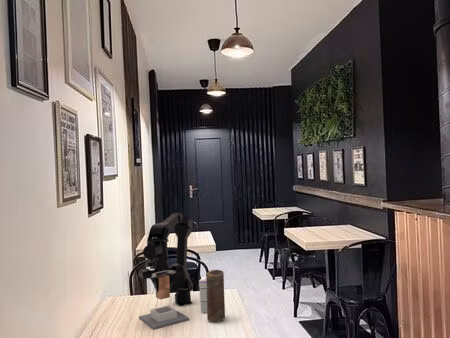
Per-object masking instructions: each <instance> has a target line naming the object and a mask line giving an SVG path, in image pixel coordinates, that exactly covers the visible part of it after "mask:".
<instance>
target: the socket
mask: <svg viewBox="0 0 450 338" xmlns="http://www.w3.org/2000/svg"><path fill="white" fill-rule="evenodd" d="M149 311H150V313H147V314H146V313H145V314H143V315H139V316H138V318H139V320H140V321H142V322H143V323H144V324H146V326H148V327H149V328H151V330H158V329H162V328H165V327H169V326H173V325H177V324H182V323H185V322H188V321H190V317H188V316H187V315H185V314H184V313H182V312H180V311H179V310H177V309H176V308H173V307H172V306H171V305H169V304H168V305H164V306H161V307H156V308H151V309H150V310H149Z"/></svg>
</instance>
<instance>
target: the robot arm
mask: <svg viewBox="0 0 450 338" xmlns="http://www.w3.org/2000/svg"><path fill="white" fill-rule="evenodd" d="M172 229H173V232H174V234H175V237H177V242H176V263H172V264H170V266H169V260H170V256H169V255H168V243H169V242H170V241H169V236H170V234H171V230H172ZM192 229H193V222H192V221H191V219H190V218H189V217H187V216H185V215H184V214H182V213H181V212H172V213H170V215H169V216H168V217H167V218H165V219H164V220H163V221H162V222H158V223H155V224H152V226H151V227H150V229H149V232H148V237H147V239H146V246H144V248H143V250H142V256H143V257H144V258H145V267H146V268H143V269H139V270H138V274H137V275H138V278H141V279H142V280H145V279H146V280H148V279H149V280H151V282H152V285H153V288H154V291H155V293H156V292H157V293H158V277H156V276H157V275H160V274H166V275H168V276H169V285H170V287H171V289H172V291H173V292H175V294H174V304H175V305H178V306H180V307H182V306H186V305H192V304H193V301H192V300H191V299H192V298H191V292H192V291H193V289H194V283H193V282H192V280H191V279H190V278H191V277H190V276H191V274H190V273H189V272H188V269H187V265H188V263H187V262H188V239H189V237H190V235H191V233H192Z"/></svg>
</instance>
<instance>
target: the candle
mask: <svg viewBox="0 0 450 338" xmlns="http://www.w3.org/2000/svg"><path fill="white" fill-rule="evenodd" d="M224 276H225V273H224V271H223V270H220V269H211V270H209V271H207V273H206V276H205V277H207V313H206V315H207V316H206V317H207V319H206V320H207V321H209V322H210V321H211V322H217V323H218V322H221V321H222V320H223V319H225V318H226V307H225V279H224V278H225V277H224Z"/></svg>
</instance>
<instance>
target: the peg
mask: <svg viewBox="0 0 450 338" xmlns="http://www.w3.org/2000/svg"><path fill="white" fill-rule="evenodd" d="M156 277H158V293H157V292H156V291H155V298H156V299H158V300H164V299H165V300H166V299H169V298H171V290H170V289H171V286H170V285H169V276H168V275H166V273H161V274H156Z"/></svg>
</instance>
